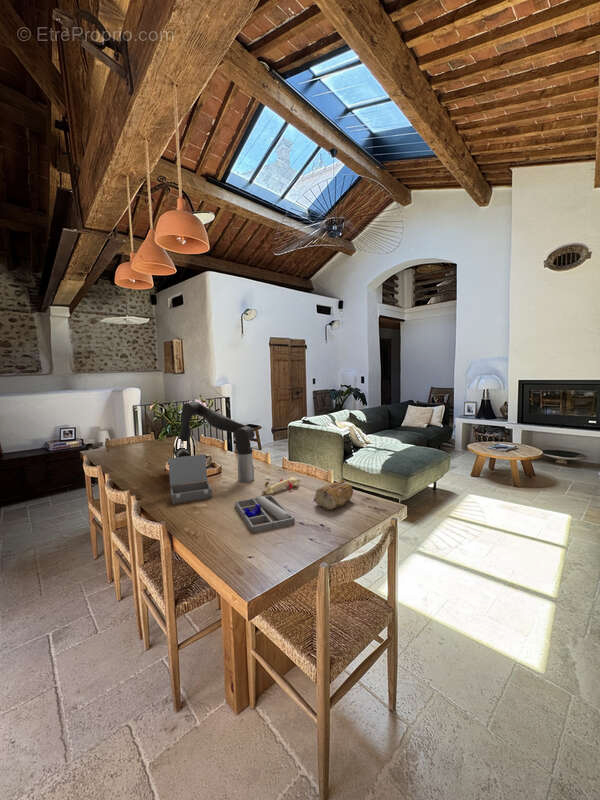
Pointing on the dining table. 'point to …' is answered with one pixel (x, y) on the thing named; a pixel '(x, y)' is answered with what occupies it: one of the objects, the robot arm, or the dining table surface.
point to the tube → (272, 508)
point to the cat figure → (281, 485)
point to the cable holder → (254, 512)
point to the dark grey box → (190, 492)
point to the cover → (187, 469)
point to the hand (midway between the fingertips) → (186, 463)
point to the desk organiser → (262, 515)
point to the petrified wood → (333, 495)
